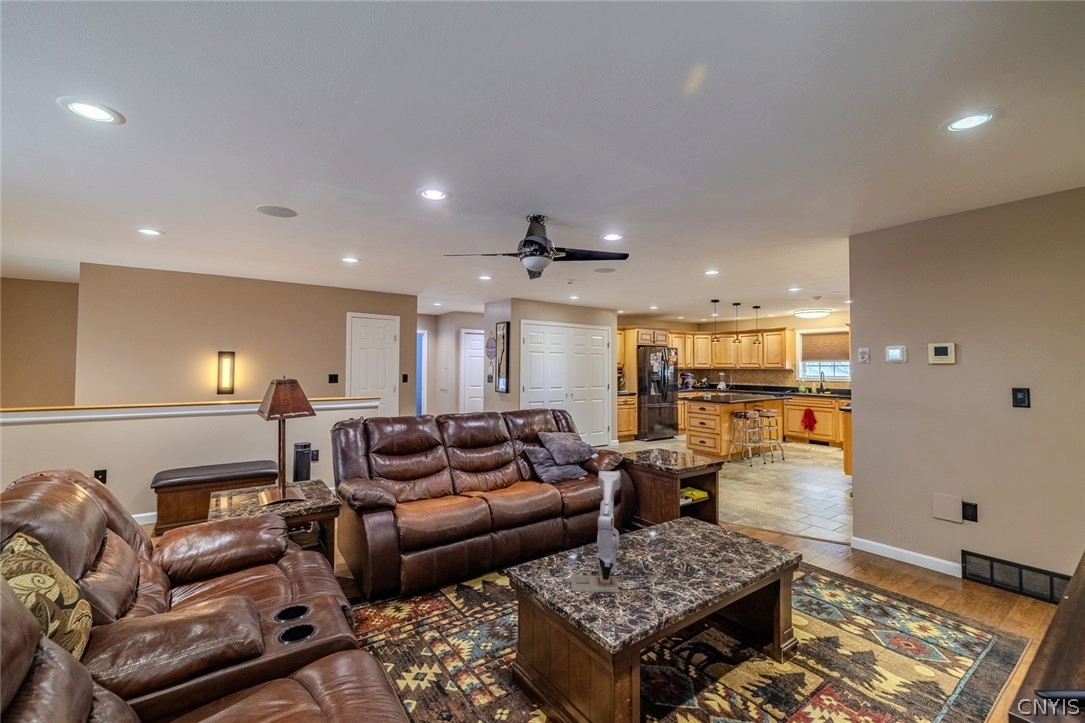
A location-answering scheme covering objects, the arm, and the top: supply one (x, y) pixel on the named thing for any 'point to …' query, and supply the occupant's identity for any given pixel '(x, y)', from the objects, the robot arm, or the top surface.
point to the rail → (592, 584)
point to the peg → (602, 578)
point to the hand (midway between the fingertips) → (605, 576)
